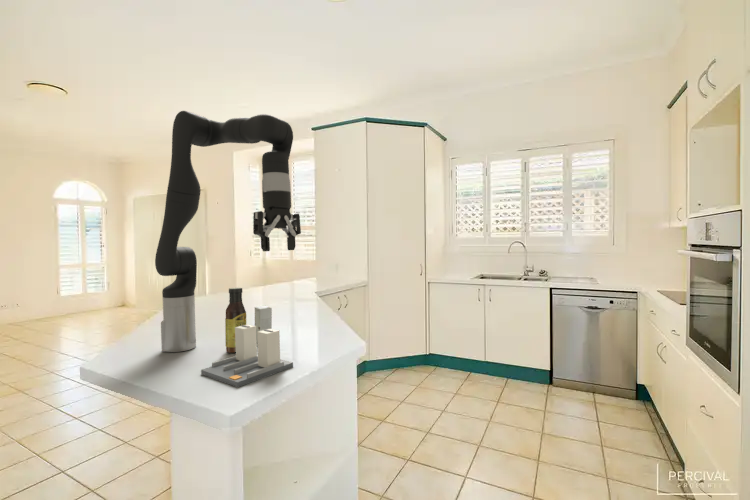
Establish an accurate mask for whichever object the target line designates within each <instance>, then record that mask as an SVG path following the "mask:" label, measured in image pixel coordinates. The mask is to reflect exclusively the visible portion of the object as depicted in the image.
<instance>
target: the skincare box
mask: <svg viewBox="0 0 750 500" xmlns="http://www.w3.org/2000/svg"><path fill="white" fill-rule="evenodd" d="M272 312H273V310H272V307H270V306H268V305H258V306H254V326H256V344H258V340H257V332H259V331H263V330H267V329H273V328H272V325H273V324H272V323H273V322H272V317H273V316H272V315H273V313H272Z"/></svg>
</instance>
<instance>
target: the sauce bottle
mask: <svg viewBox="0 0 750 500" xmlns="http://www.w3.org/2000/svg"><path fill="white" fill-rule="evenodd" d="M228 294H229V297H228V299H229V301H228V303H229V304H227V307H226V310H225V318H224V319H225V320H224V321H225V323H224V324H225V326H224V327H225V351H226V353H228V354H236V353H235V352H236V346H235V327H239V326H242V325H247V311H246V308H245V305H244V303H243V287H230V288H228Z"/></svg>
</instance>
